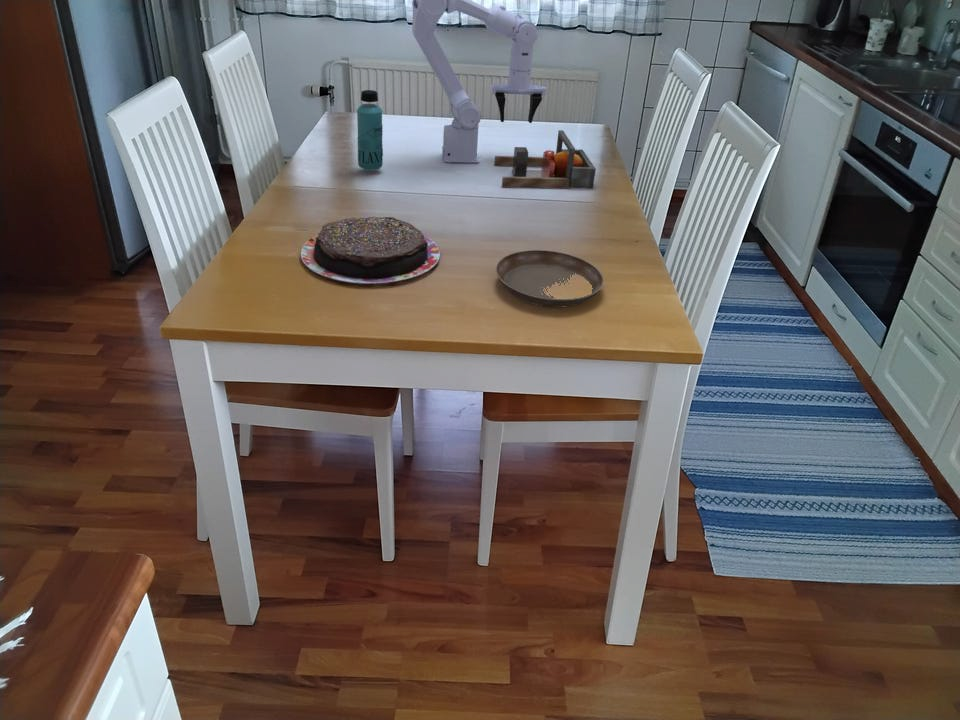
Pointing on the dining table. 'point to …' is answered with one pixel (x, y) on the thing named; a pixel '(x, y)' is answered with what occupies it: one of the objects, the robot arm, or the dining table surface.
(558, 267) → the plant saucer
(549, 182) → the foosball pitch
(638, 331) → the dining table surface
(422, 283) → the dining table surface
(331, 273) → the chocolate cake
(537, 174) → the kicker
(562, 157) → the fruit
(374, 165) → the beverage bottle
